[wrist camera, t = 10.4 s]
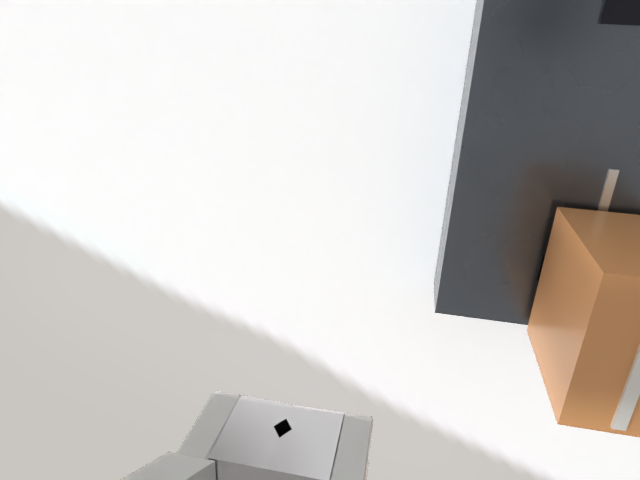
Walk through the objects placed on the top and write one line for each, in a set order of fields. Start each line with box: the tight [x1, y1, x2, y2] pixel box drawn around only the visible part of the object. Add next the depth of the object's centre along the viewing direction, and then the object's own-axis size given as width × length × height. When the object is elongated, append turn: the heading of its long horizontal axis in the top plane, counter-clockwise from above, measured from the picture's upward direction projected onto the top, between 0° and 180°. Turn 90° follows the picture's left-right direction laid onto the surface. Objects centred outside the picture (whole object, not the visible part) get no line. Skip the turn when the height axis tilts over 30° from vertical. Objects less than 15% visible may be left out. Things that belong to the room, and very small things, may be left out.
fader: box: [527, 207, 640, 437], centre depth 13 cm, size 4×2×4 cm, turn 177°
